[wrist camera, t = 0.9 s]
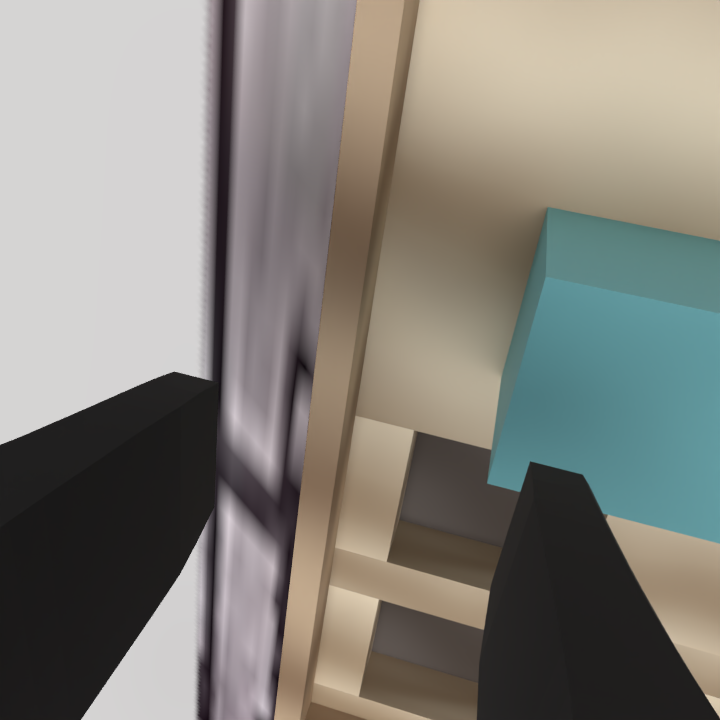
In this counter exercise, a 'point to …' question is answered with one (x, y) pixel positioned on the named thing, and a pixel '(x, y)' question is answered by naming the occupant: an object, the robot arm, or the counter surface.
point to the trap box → (474, 323)
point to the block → (618, 371)
